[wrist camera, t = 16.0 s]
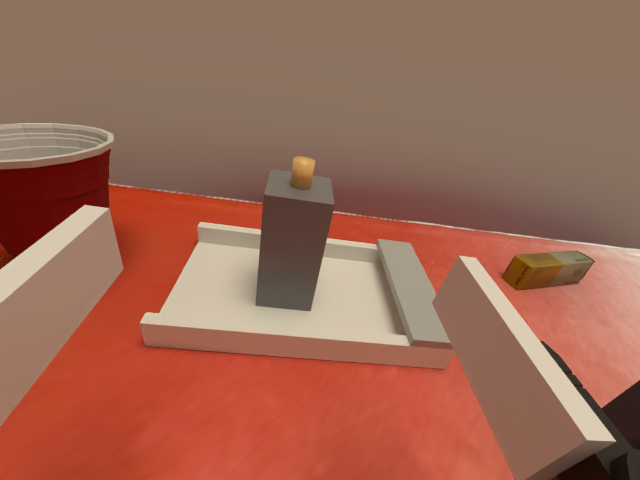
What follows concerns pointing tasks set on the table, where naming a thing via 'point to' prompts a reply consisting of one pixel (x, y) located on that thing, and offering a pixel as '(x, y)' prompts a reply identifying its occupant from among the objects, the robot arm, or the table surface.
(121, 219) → the table surface
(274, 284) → the grey bottle with cork
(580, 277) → the medication box
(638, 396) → the calculator
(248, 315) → the tray
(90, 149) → the plastic cup
